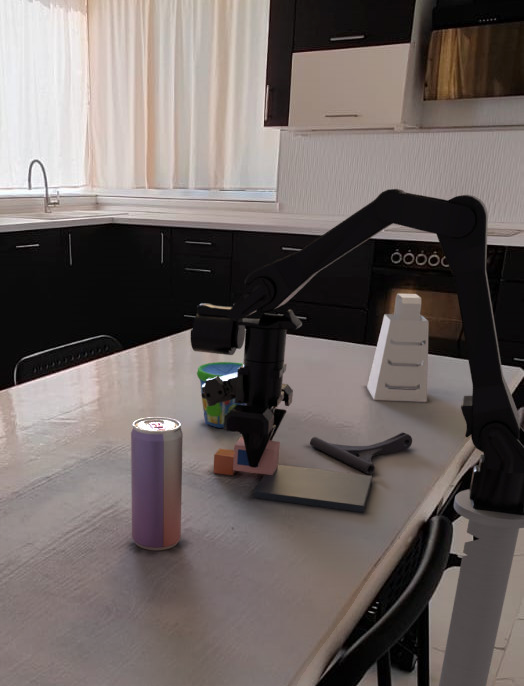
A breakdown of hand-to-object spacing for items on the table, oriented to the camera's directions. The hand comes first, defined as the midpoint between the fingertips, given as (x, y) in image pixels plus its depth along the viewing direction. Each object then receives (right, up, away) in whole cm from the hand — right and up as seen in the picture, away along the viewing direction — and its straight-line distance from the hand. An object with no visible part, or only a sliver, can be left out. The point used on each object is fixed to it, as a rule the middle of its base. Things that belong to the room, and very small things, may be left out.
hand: (256, 462), depth 115 cm
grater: (+34, +17, +45) cm, 59 cm away
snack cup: (-3, +8, +25) cm, 27 cm away
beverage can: (-15, -11, -21) cm, 28 cm away
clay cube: (-4, -1, +2) cm, 5 cm away
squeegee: (+20, +2, +10) cm, 23 cm away
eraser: (0, -1, 0) cm, 1 cm away
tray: (+8, -4, -5) cm, 10 cm away
